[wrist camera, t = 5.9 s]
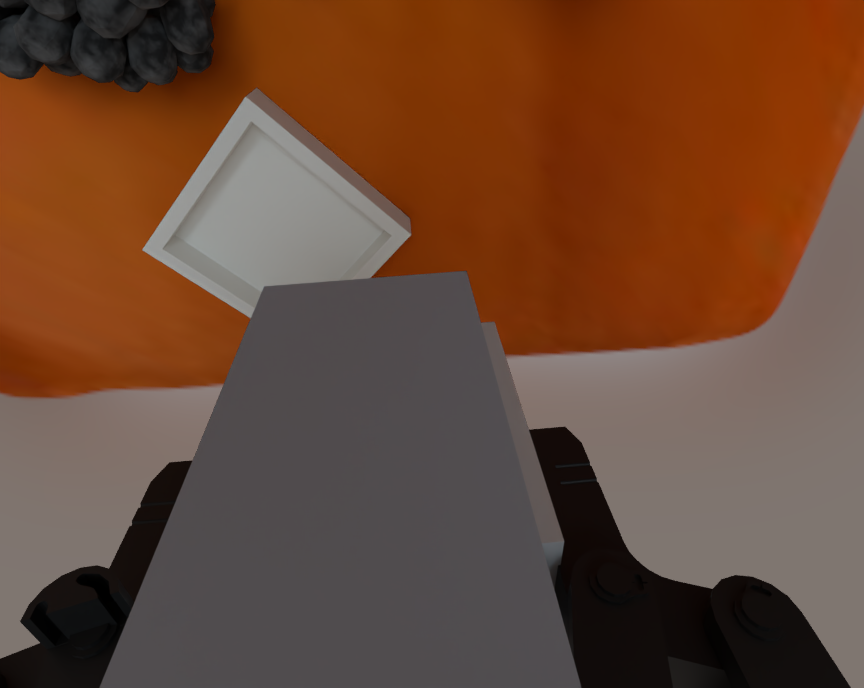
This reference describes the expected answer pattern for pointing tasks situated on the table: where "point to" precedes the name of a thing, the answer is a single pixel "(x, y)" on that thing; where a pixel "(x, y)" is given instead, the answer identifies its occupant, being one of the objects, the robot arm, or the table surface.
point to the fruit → (106, 39)
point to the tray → (274, 212)
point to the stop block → (352, 511)
